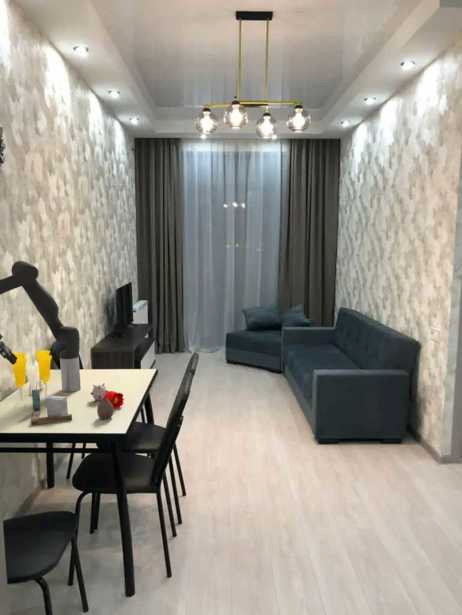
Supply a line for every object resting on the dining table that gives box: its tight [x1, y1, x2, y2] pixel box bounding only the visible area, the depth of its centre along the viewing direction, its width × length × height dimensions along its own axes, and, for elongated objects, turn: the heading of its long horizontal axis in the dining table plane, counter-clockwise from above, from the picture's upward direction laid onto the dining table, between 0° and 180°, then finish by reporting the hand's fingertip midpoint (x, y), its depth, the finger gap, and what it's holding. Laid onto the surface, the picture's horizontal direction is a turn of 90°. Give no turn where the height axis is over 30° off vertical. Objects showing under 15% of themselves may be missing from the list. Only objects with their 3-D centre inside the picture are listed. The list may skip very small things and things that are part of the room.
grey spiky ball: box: [90, 383, 109, 403], centre depth 242 cm, size 9×8×10 cm
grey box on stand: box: [31, 388, 73, 426], centre depth 222 cm, size 18×17×10 cm
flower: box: [103, 390, 125, 410], centre depth 233 cm, size 8×8×8 cm
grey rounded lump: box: [96, 398, 115, 421], centre depth 218 cm, size 7×7×9 cm
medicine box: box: [45, 395, 69, 417], centre depth 221 cm, size 8×4×9 cm, turn 71°
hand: (15, 361), depth 221 cm, fingers open, 8 cm apart
